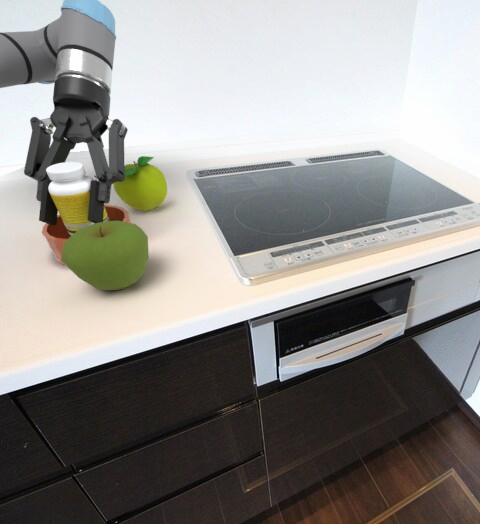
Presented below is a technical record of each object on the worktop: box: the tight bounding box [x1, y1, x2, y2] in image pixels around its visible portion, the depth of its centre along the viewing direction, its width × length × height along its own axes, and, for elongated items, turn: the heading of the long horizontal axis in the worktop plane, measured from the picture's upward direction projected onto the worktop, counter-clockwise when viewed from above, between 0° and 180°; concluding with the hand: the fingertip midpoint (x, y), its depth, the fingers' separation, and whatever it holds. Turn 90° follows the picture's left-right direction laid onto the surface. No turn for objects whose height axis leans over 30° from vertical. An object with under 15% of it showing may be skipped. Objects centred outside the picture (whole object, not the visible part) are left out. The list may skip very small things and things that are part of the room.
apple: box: [61, 221, 150, 291], centre depth 53 cm, size 11×10×10 cm
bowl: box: [41, 204, 132, 266], centre depth 62 cm, size 12×12×5 cm
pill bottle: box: [46, 161, 110, 236], centre depth 58 cm, size 6×6×11 cm
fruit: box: [112, 155, 168, 212], centre depth 73 cm, size 9×9×10 cm
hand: (71, 222), depth 57 cm, fingers closed on pill bottle, 6 cm apart
